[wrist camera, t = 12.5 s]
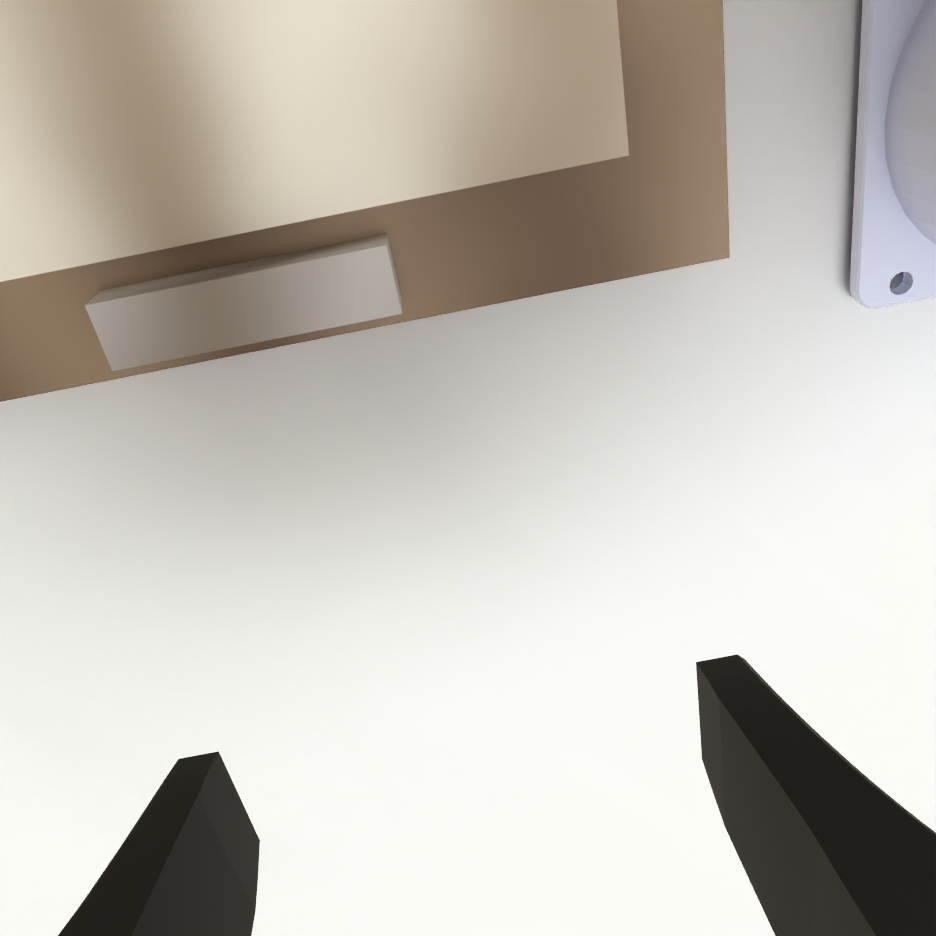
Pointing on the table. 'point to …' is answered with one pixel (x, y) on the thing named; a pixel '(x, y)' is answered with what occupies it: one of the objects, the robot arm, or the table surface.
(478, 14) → the clipboard
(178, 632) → the table surface
